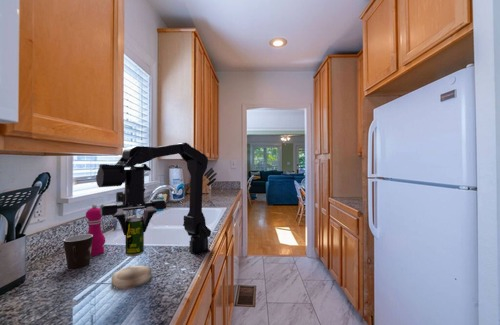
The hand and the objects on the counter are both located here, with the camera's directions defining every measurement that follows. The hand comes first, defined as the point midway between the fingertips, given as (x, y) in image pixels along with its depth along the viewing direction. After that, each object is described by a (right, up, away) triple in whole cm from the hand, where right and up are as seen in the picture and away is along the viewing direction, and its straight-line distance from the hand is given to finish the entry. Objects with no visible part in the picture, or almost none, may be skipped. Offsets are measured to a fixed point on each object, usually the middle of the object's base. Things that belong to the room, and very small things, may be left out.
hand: (134, 233), depth 77 cm
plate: (+1, -13, -3) cm, 14 cm away
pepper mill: (-26, -14, +20) cm, 36 cm away
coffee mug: (-24, -14, +6) cm, 28 cm away
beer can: (0, -7, 0) cm, 7 cm away
